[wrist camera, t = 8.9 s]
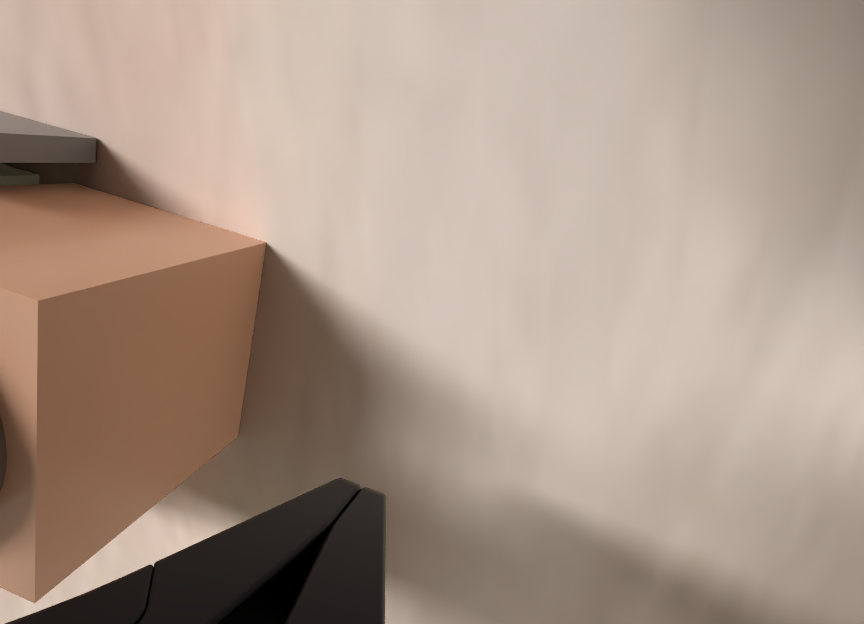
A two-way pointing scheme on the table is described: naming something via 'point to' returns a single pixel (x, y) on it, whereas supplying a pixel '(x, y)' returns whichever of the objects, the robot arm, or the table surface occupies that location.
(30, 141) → the lane
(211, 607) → the robot arm
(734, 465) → the table surface
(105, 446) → the orange block with dome
